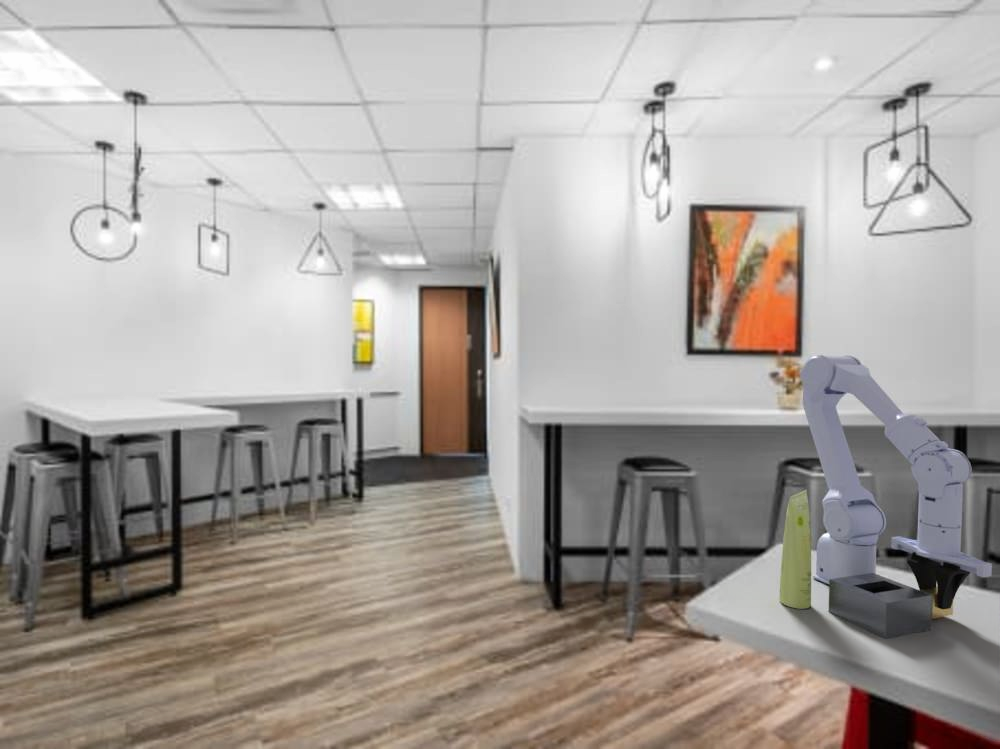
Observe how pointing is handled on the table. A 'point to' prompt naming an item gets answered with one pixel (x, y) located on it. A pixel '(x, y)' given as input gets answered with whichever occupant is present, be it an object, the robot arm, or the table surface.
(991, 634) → the table surface
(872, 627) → the box
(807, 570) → the tube
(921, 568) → the robot arm
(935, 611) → the block
